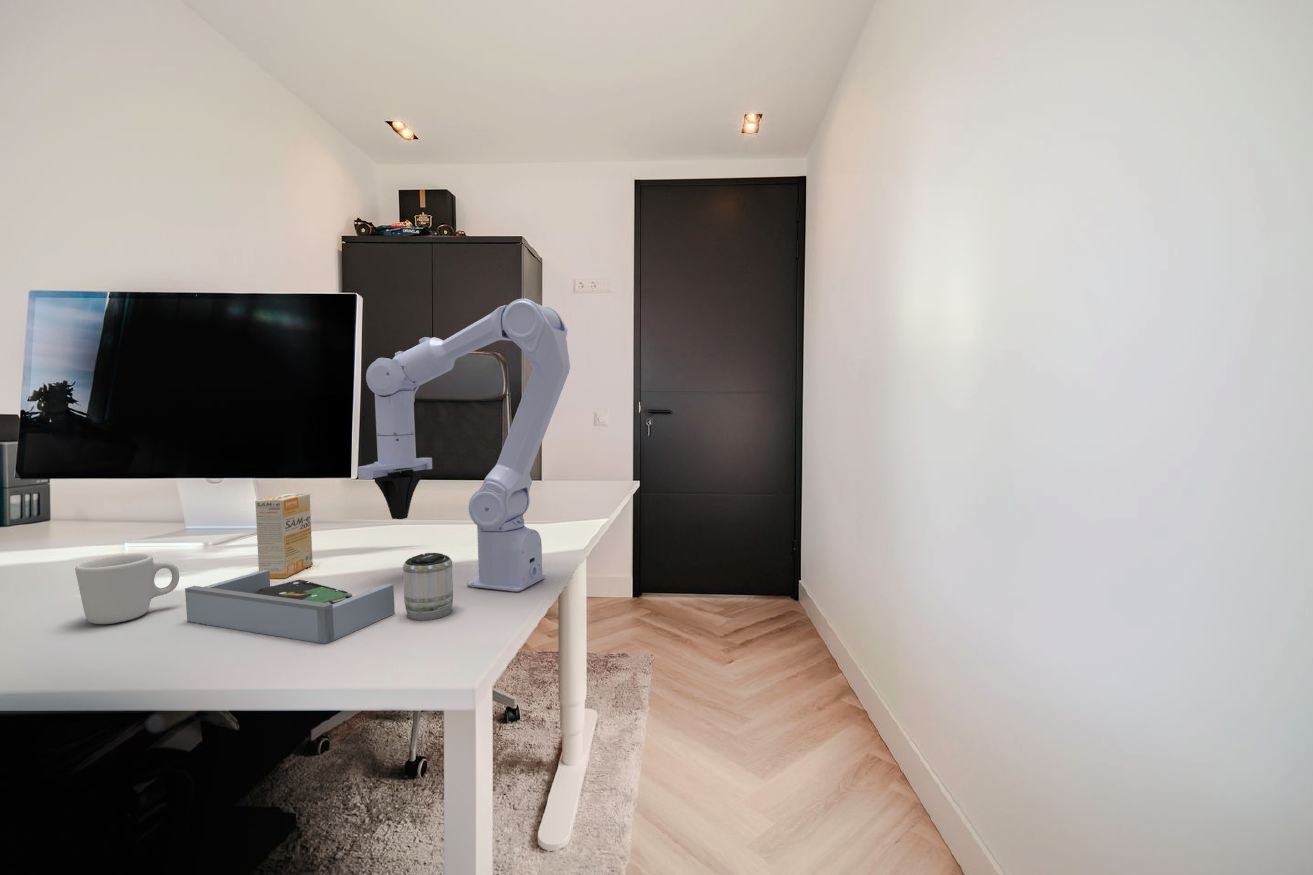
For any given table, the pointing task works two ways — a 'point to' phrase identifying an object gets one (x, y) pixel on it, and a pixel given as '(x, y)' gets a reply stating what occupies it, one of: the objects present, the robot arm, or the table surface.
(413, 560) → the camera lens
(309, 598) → the disk drive
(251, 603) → the frame
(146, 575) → the cup
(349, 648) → the table surface
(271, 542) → the supplement box
